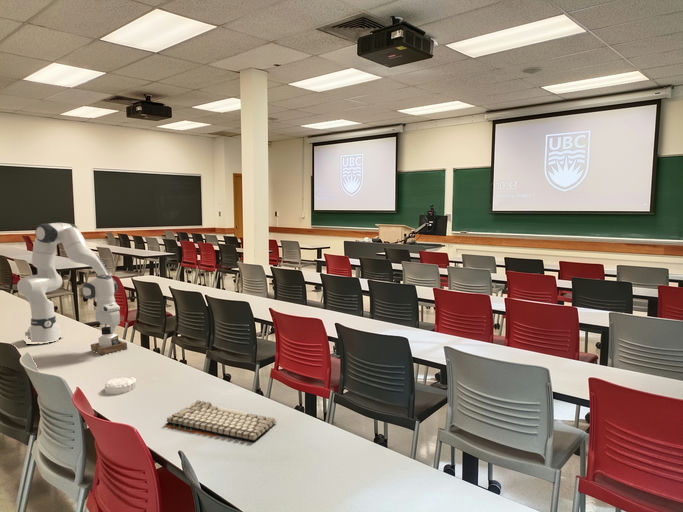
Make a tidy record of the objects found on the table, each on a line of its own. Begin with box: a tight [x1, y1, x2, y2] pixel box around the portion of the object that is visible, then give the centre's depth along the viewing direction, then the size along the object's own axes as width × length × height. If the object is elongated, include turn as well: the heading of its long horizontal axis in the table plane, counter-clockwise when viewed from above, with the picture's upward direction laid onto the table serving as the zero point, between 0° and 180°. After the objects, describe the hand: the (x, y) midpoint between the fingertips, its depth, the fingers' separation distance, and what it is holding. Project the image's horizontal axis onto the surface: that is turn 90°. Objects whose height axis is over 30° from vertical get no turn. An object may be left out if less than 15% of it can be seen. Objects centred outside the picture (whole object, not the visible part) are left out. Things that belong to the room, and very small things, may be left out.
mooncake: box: [104, 376, 137, 395], centre depth 199 cm, size 12×12×4 cm
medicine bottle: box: [98, 325, 119, 347], centre depth 252 cm, size 7×7×12 cm
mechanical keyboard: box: [164, 399, 277, 444], centre depth 166 cm, size 38×19×3 cm, turn 69°
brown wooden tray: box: [90, 339, 128, 356], centre depth 253 cm, size 13×13×4 cm
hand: (107, 331), depth 252 cm, fingers open, 8 cm apart
